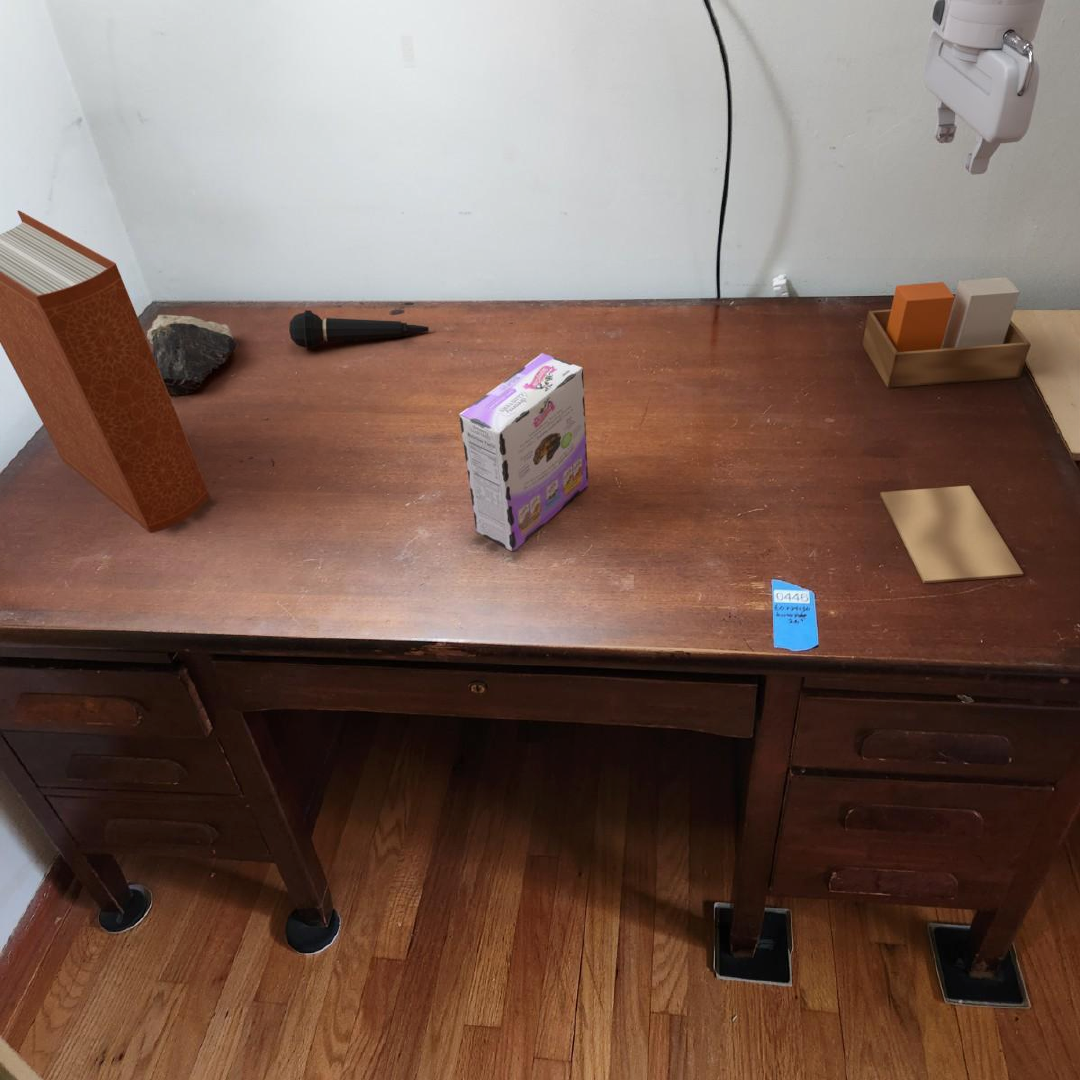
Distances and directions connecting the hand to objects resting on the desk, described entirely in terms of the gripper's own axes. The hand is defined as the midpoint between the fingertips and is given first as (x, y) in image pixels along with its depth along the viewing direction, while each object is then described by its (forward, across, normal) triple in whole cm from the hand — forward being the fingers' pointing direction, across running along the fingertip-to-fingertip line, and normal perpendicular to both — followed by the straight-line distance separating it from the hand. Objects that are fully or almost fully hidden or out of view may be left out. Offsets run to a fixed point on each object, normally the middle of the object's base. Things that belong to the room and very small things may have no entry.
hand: (958, 155), depth 103 cm
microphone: (+27, +16, +75) cm, 81 cm away
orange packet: (+27, 0, 0) cm, 27 cm away
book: (+27, -13, +100) cm, 104 cm away
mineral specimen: (+27, +12, +98) cm, 102 cm away
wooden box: (+27, 0, -4) cm, 27 cm away
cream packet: (+27, 0, -8) cm, 28 cm away
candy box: (+27, -24, +51) cm, 63 cm away
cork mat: (+27, -33, +7) cm, 43 cm away
